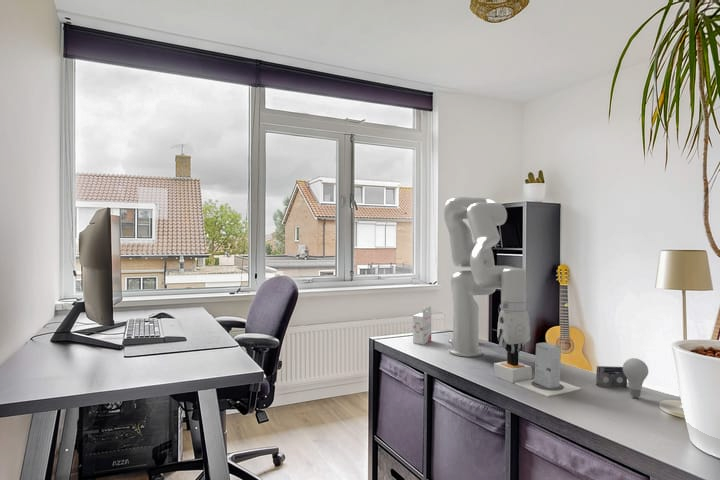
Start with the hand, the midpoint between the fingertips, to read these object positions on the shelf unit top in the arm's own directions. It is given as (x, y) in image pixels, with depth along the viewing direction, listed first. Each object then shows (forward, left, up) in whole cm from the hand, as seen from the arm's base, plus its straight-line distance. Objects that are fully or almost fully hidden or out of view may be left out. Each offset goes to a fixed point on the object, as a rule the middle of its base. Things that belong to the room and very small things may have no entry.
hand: (512, 364), depth 142 cm
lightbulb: (+28, +18, -4) cm, 34 cm away
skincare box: (+11, +3, -4) cm, 12 cm away
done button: (0, 0, -3) cm, 3 cm away
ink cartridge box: (-52, +1, -4) cm, 52 cm away
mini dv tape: (+19, +21, -5) cm, 29 cm away
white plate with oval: (+11, +3, -4) cm, 12 cm away
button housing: (0, 0, -4) cm, 4 cm away
